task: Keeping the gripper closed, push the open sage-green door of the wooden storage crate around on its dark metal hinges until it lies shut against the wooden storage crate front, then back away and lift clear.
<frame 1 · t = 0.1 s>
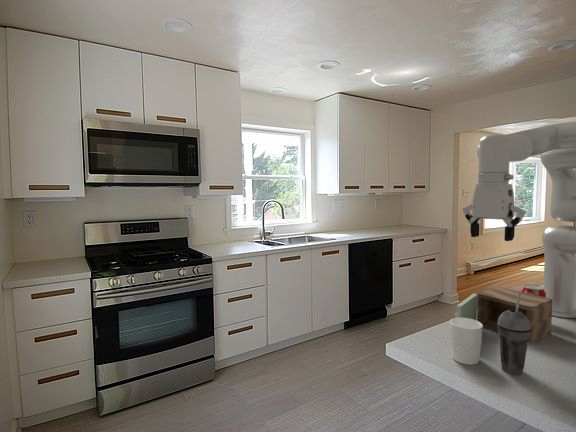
hand: (491, 238, 102), 31 cm above the countertop, tool pointing down, fingers open, 9 cm apart
wooden storage crate: (512, 329, 113), on the countertop
soda can: (532, 321, 120), on the countertop
beverage cup: (512, 371, 88), on the countertop
door: (465, 315, 111), point 6 cm above the countertop, hinge at 75.0°
white cup: (465, 359, 95), on the countertop
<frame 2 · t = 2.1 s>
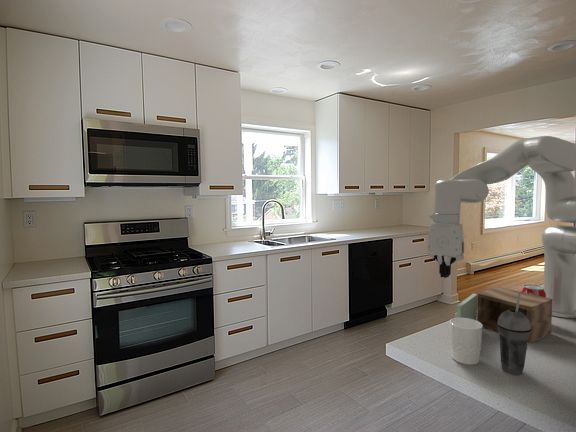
hand: (444, 276, 112), 18 cm above the countertop, tool pointing down, fingers closed
nothing on the countertop moved.
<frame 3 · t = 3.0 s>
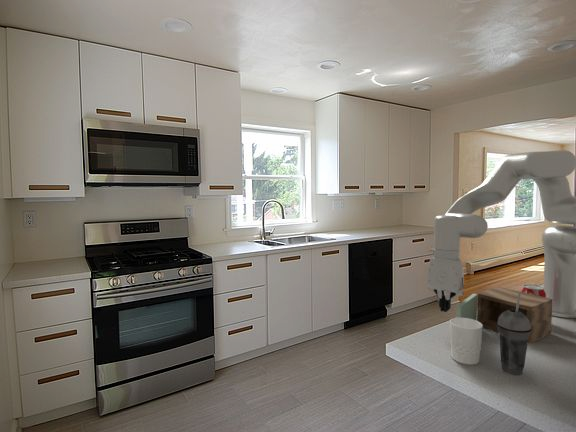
hand: (444, 310, 113), 7 cm above the countertop, tool pointing down, fingers closed
nothing on the countertop moved.
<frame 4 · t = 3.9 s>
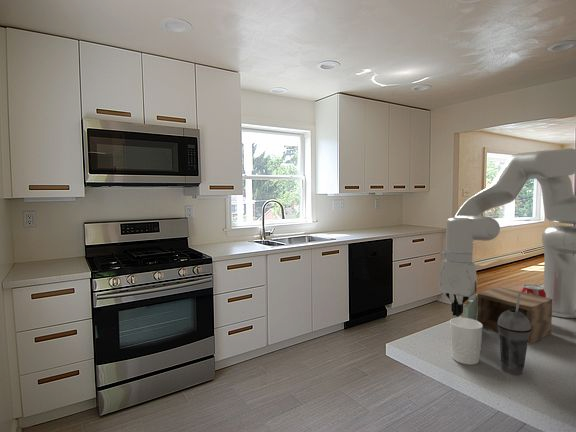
hand: (457, 314, 110), 6 cm above the countertop, tool pointing down, fingers closed
door: (469, 315, 110), point 6 cm above the countertop, hinge at 67.9°, touching gripper
everything else where it was.
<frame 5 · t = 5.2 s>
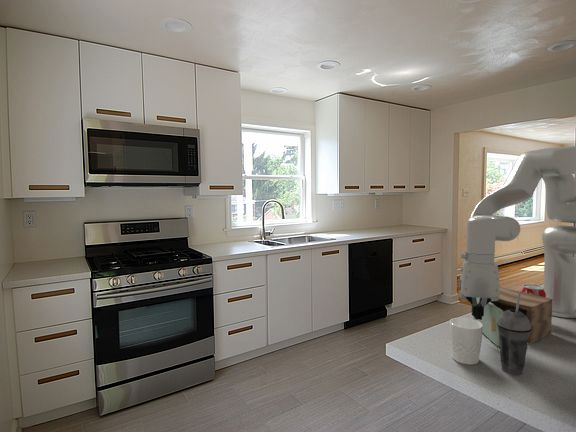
hand: (477, 318, 107), 6 cm above the countertop, tool pointing down, fingers closed
door: (484, 317, 108), point 6 cm above the countertop, hinge at 35.4°, touching gripper
everything else where it was.
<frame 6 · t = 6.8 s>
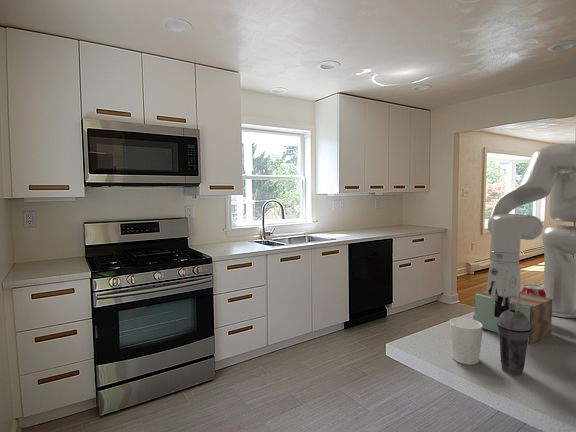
hand: (501, 317, 106), 7 cm above the countertop, tool pointing down, fingers closed
door: (498, 316, 109), point 6 cm above the countertop, hinge at -0.6°, touching gripper
everything else where it was.
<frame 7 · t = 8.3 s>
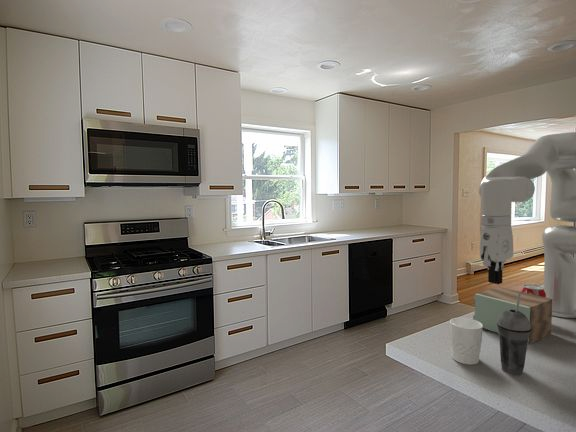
hand: (495, 282, 104), 18 cm above the countertop, tool pointing down, fingers closed
door: (498, 316, 109), point 6 cm above the countertop, hinge at -0.6°
everything else where it was.
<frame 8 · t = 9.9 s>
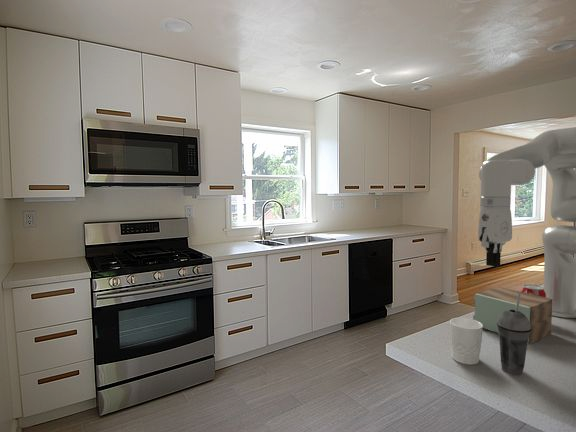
hand: (493, 265, 103), 23 cm above the countertop, tool pointing down, fingers closed
nothing on the countertop moved.
at the end: door at -1° (first picture: +75°) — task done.
